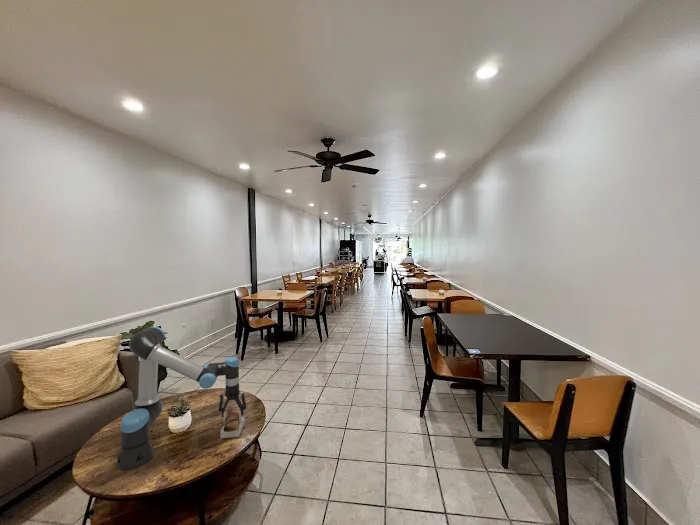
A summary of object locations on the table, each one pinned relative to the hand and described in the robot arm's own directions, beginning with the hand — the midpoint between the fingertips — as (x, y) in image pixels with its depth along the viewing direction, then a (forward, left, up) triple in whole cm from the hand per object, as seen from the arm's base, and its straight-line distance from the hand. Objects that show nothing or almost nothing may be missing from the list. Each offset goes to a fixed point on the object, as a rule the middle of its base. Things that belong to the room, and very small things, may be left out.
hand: (232, 421), depth 171 cm
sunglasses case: (0, 0, -1) cm, 1 cm away
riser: (0, 0, -6) cm, 6 cm away
